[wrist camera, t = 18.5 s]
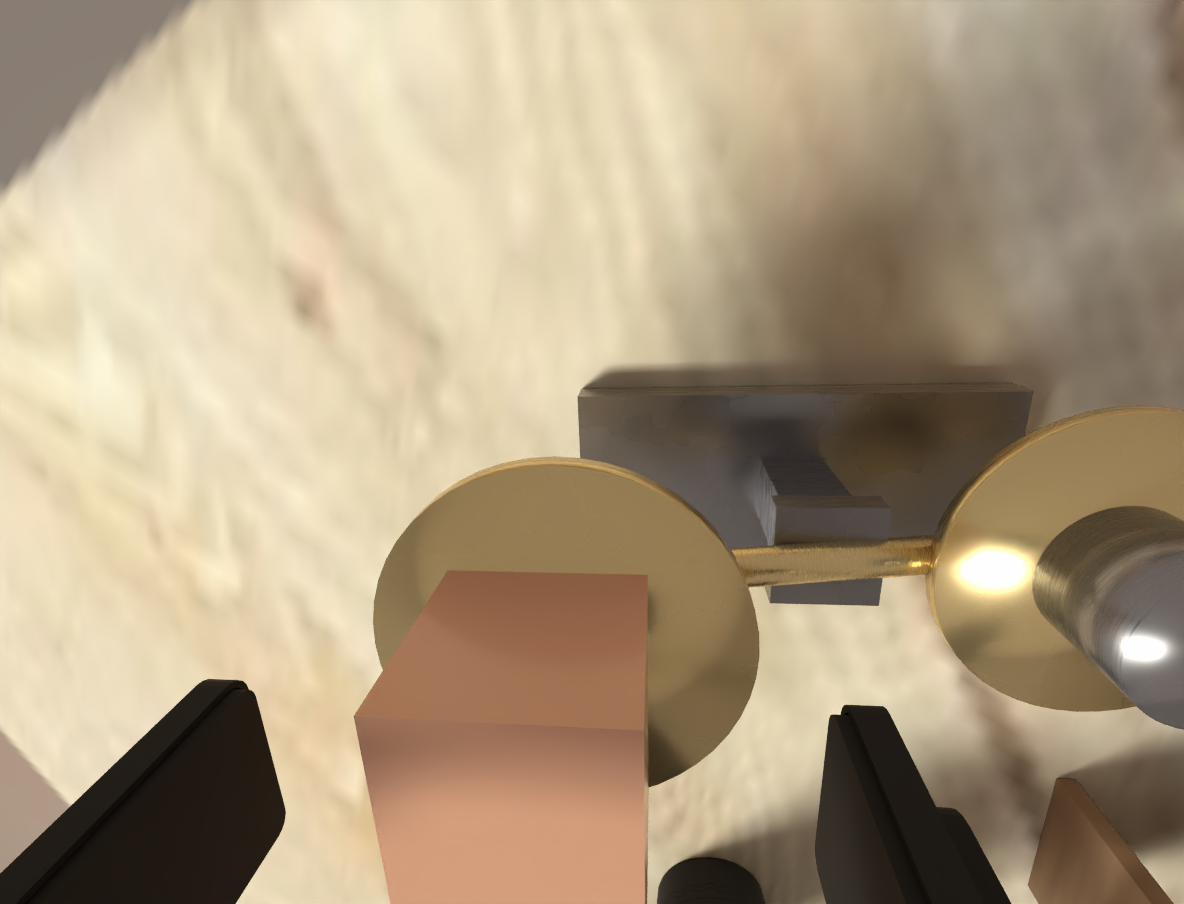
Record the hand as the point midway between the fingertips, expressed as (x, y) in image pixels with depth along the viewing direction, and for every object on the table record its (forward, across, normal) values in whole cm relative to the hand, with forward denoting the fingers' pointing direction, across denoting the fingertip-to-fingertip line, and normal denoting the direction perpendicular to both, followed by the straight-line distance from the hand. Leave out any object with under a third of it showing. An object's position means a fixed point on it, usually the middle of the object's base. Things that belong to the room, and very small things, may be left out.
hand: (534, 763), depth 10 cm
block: (+1, 0, -2) cm, 2 cm away
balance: (+13, -6, 0) cm, 14 cm away
